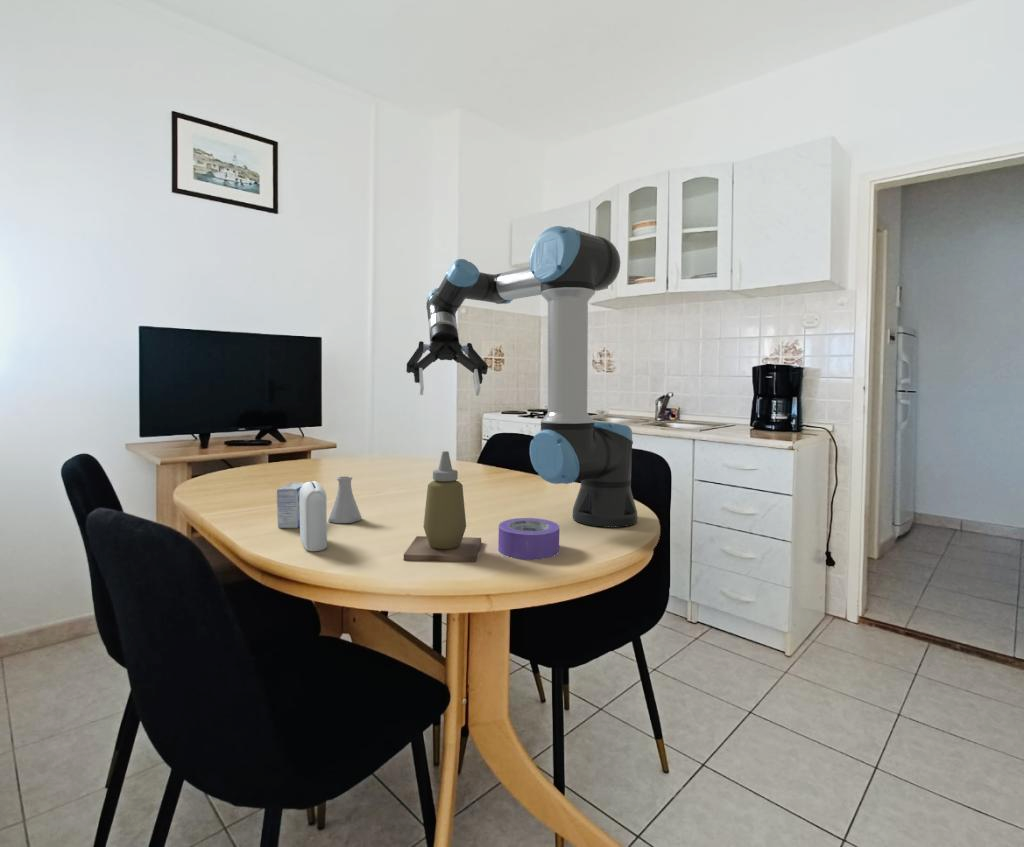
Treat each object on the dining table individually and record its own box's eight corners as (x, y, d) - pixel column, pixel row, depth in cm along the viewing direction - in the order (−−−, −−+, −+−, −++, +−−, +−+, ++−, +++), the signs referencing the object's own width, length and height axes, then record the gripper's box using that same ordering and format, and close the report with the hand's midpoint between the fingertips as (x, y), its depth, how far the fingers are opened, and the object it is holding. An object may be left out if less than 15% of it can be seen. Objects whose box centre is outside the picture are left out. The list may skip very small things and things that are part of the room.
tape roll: (556, 562, 101) (556, 535, 101) (492, 558, 103) (493, 531, 103) (561, 543, 113) (561, 519, 112) (504, 540, 115) (504, 516, 114)
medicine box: (297, 528, 120) (296, 489, 120) (276, 528, 120) (276, 488, 120) (311, 519, 128) (310, 482, 128) (291, 519, 128) (291, 482, 128)
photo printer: (298, 539, 113) (297, 478, 112) (320, 536, 115) (320, 477, 114) (305, 553, 103) (304, 487, 103) (329, 550, 105) (328, 485, 105)
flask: (351, 525, 124) (351, 480, 123) (322, 523, 125) (321, 479, 124) (366, 517, 131) (366, 475, 130) (338, 515, 132) (338, 474, 132)
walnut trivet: (481, 542, 112) (481, 537, 112) (475, 561, 100) (475, 556, 100) (416, 541, 112) (416, 536, 112) (403, 560, 101) (403, 554, 100)
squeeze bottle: (424, 539, 110) (425, 448, 109) (466, 539, 111) (467, 449, 109) (421, 552, 102) (422, 454, 101) (466, 551, 103) (467, 454, 101)
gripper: (487, 345, 154) (498, 402, 141) (395, 342, 148) (397, 401, 135) (491, 324, 148) (503, 381, 135) (396, 320, 143) (397, 379, 129)
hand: (450, 391), depth 135 cm, fingers open, 13 cm apart
